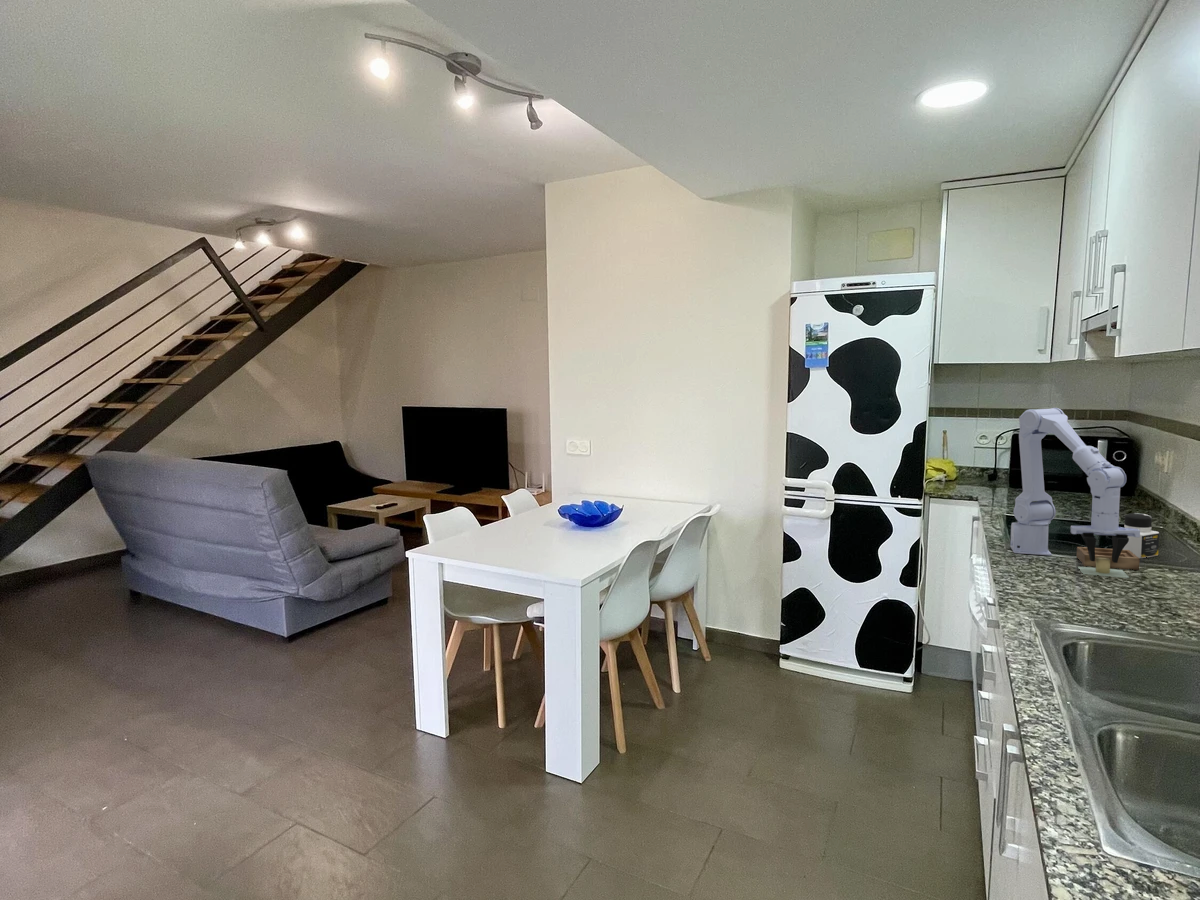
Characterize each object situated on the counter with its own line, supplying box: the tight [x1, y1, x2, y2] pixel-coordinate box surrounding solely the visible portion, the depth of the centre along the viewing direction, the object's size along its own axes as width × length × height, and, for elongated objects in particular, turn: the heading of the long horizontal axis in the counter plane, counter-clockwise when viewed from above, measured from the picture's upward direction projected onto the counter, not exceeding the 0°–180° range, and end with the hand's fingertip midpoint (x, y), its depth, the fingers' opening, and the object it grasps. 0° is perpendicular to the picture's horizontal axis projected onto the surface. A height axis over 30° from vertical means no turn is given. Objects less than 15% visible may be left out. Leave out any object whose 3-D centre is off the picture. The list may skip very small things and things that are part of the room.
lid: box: [1077, 558, 1130, 579], centre depth 169 cm, size 10×7×4 cm
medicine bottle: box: [1123, 512, 1160, 559], centre depth 183 cm, size 7×7×12 cm
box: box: [1076, 546, 1141, 571], centre depth 176 cm, size 12×9×3 cm
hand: (1103, 561), depth 169 cm, fingers open, 4 cm apart
